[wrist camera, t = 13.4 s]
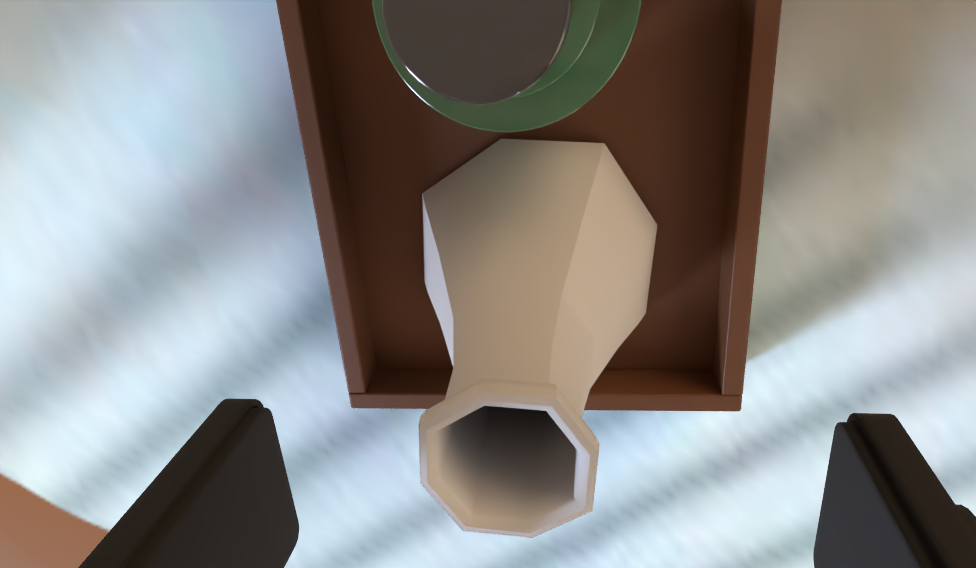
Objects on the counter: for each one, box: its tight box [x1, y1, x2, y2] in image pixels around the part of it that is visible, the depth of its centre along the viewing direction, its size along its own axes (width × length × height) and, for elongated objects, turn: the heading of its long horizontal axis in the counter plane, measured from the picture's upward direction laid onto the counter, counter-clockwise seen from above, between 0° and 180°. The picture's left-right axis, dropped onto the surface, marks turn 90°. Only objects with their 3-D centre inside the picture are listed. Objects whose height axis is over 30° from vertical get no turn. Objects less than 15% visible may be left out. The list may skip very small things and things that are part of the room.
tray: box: [276, 0, 782, 411], centre depth 18 cm, size 22×12×2 cm, turn 4°
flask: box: [419, 139, 657, 538], centre depth 16 cm, size 7×7×10 cm
